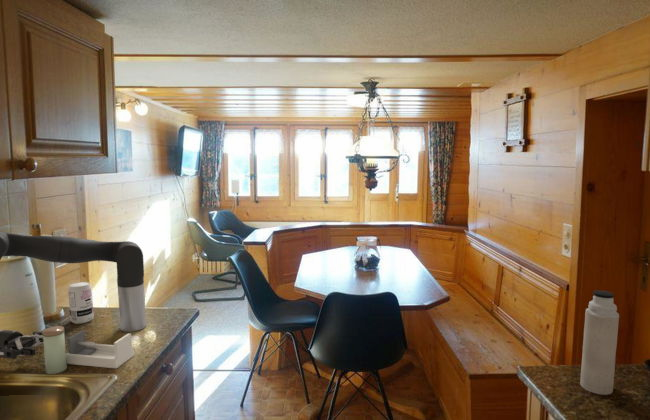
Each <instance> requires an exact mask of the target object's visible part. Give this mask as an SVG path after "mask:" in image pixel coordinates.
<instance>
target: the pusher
mask: <svg viewBox="0 0 650 420" xmlns="http://www.w3.org/2000/svg"><path fill="white" fill-rule="evenodd" d="M96 344H97V343H96V342H93V341H86V332H85V330H83V329H82V330H80V331H78V332H76V333H74V334H72V335H71V336H69V337H67V348H68V349H67V350H68V352H67V353H69V354H80V355H90V354H92V353H93V352H95V351H96V349H94V348H86V346H95V345H96Z"/></svg>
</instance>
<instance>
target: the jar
mask: <svg viewBox="0 0 650 420" xmlns="http://www.w3.org/2000/svg"><path fill="white" fill-rule="evenodd" d="M41 332H42V335H43V340H42V341H43V343H42V344H43V351H44V353H43V354H44V363H45V364H44V365H45V373H46V374H48V375H54V374H55V375H57V374H59V373H63V372H64V371H66V370H67V368H68V364H67V361H66V353H67V350H66V340H65V339H66V338H65V327H64V326H62V325H57V326H56V325H55V326H50V327H47V328H45V329H43V330H42V331H41Z"/></svg>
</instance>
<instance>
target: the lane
mask: <svg viewBox="0 0 650 420" xmlns="http://www.w3.org/2000/svg"><path fill="white" fill-rule="evenodd" d="M86 348H94V349H96V351H95V352H93V353H92V354H90V355H80V354H69V353H68V352H66V361H67V365H74V366H75V365H76V366H77V365H78V366H86V367H87V366H89V367H95V368H97V367H98V368H106V369H107V368H108V369H117V368H119V367H120V366H122V365H124V363H126V362H127V361H129V360H130V359H131V358H133V357H134V356H135V348H134V346H132V334H131V333H129V332H127V333H126V334H125V335H124V336H122V337H121V338H119V339H117V340H116V341H114V342H113V344H103V343H96V345H95V346H86Z"/></svg>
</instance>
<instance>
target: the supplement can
mask: <svg viewBox="0 0 650 420" xmlns="http://www.w3.org/2000/svg"><path fill="white" fill-rule="evenodd" d="M67 290H68V303H69V305H68V306H69V316H70V317H69V318H70V322H72V323H73V324H76V325H78V324H79V325H80V324H85V323H88V322H91V321H92V320H93V319H94V318H95V317H94V316H95V313H94V301H93V288H92V285H91V284H90V282H89V281H78V282H74V283H71V284H69V287H68V288H67Z"/></svg>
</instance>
